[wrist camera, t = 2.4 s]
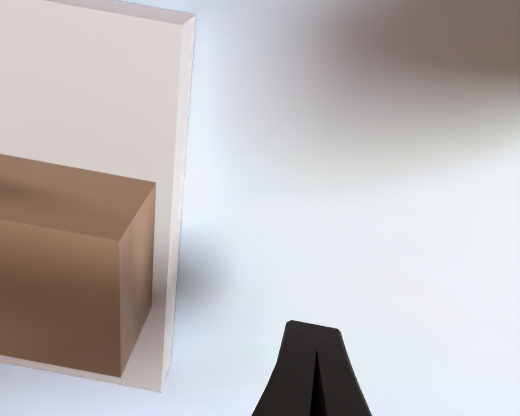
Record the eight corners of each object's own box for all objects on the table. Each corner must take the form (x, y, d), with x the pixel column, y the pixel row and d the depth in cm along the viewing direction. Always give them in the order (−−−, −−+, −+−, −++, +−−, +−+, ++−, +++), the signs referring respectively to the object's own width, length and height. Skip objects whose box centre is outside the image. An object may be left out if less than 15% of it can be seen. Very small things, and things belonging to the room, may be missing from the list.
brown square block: (151, 307, 17) (120, 377, 14) (10, 280, 17) (-45, 346, 14) (155, 182, 14) (119, 241, 11) (-11, 151, 14) (-85, 203, 11)
